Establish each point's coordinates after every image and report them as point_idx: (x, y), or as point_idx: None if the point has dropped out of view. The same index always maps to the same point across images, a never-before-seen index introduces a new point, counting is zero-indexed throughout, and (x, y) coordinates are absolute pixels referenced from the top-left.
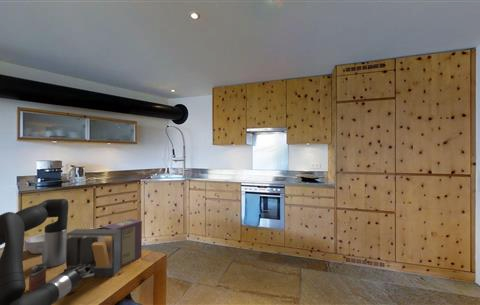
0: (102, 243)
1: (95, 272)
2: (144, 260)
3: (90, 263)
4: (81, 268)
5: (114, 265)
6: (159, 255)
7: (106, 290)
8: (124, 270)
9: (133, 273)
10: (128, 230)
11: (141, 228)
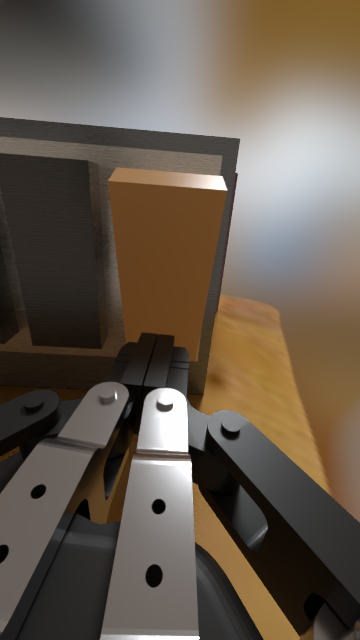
0: (205, 180)
1: None
2: (243, 321)
3: (157, 368)
4: (123, 567)
5: (209, 348)
6: (267, 308)
7: None
8: (218, 361)
9: (276, 380)
10: None
11: (232, 206)
